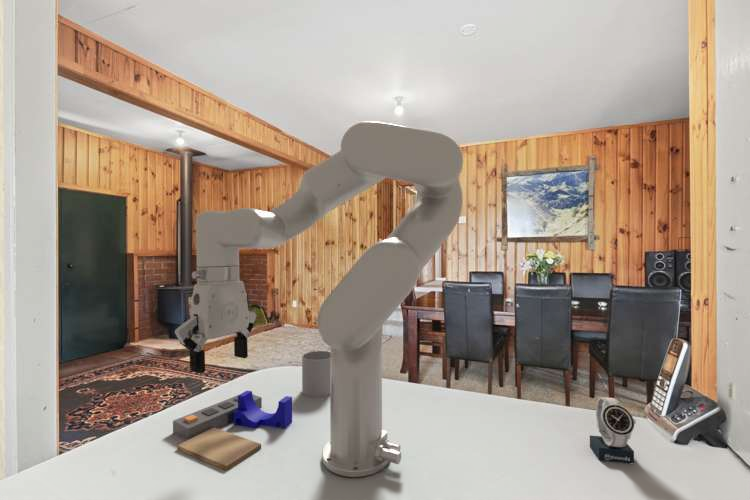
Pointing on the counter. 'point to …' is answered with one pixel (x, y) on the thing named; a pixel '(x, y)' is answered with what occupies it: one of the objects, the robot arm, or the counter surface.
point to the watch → (613, 432)
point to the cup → (316, 373)
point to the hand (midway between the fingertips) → (220, 364)
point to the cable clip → (262, 413)
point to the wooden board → (219, 448)
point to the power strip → (209, 418)
